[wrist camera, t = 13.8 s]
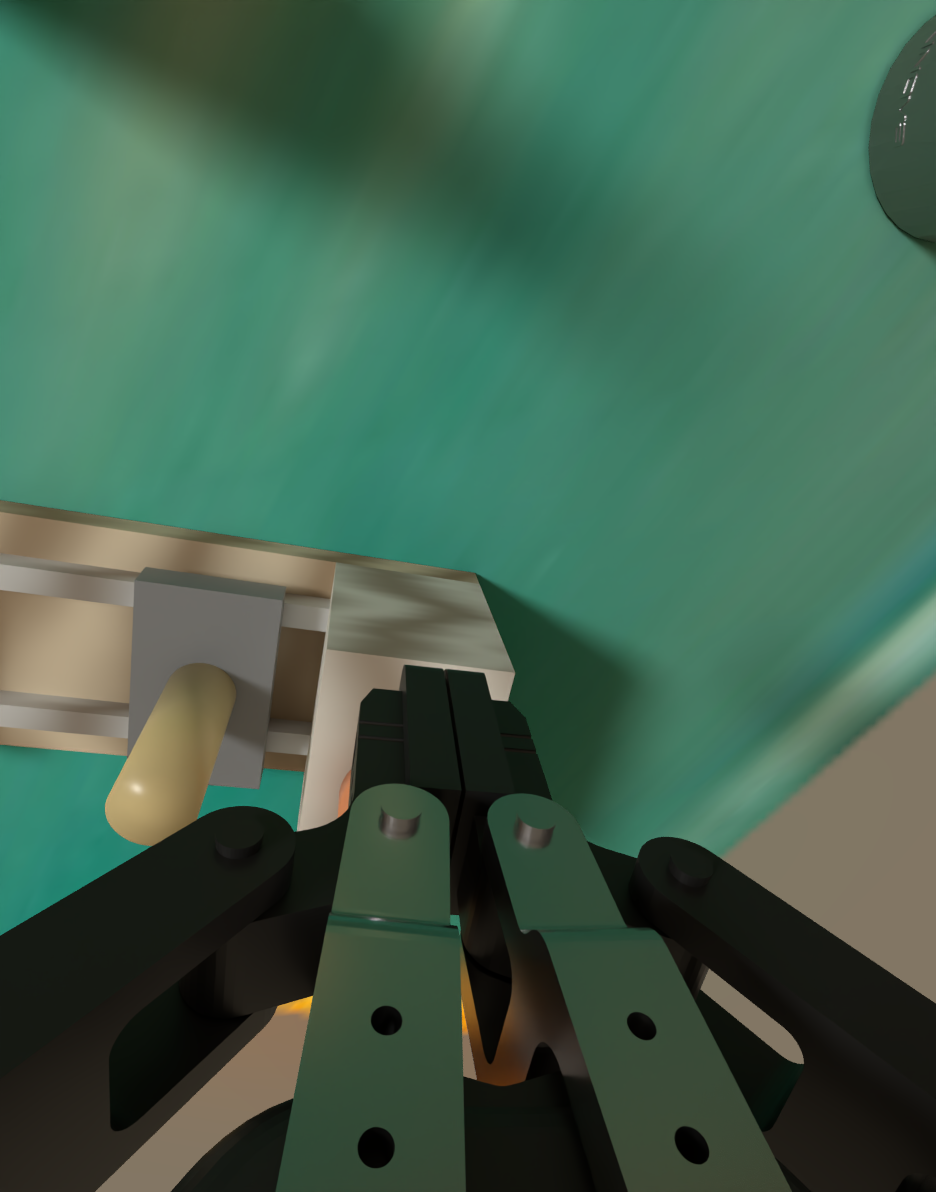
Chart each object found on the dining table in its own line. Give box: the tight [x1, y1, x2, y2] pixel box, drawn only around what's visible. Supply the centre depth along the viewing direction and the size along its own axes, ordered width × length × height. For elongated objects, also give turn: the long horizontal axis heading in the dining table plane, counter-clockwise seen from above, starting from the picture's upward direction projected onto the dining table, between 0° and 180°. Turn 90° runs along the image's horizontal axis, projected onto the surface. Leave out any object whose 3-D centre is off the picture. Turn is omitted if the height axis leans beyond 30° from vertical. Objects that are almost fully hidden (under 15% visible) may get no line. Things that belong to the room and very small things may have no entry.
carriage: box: [105, 567, 286, 846], centre depth 28 cm, size 6×10×10 cm, turn 168°
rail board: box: [0, 500, 515, 831], centre depth 30 cm, size 28×12×10 cm, turn 78°
